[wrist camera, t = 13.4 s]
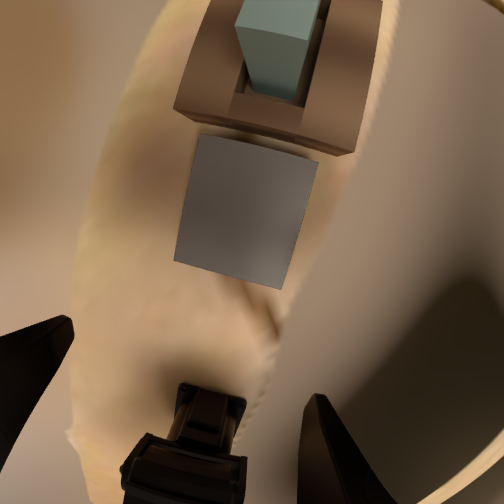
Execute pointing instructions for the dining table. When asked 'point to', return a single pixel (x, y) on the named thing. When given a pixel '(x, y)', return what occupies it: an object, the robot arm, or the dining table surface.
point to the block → (276, 42)
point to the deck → (243, 210)
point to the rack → (309, 86)
